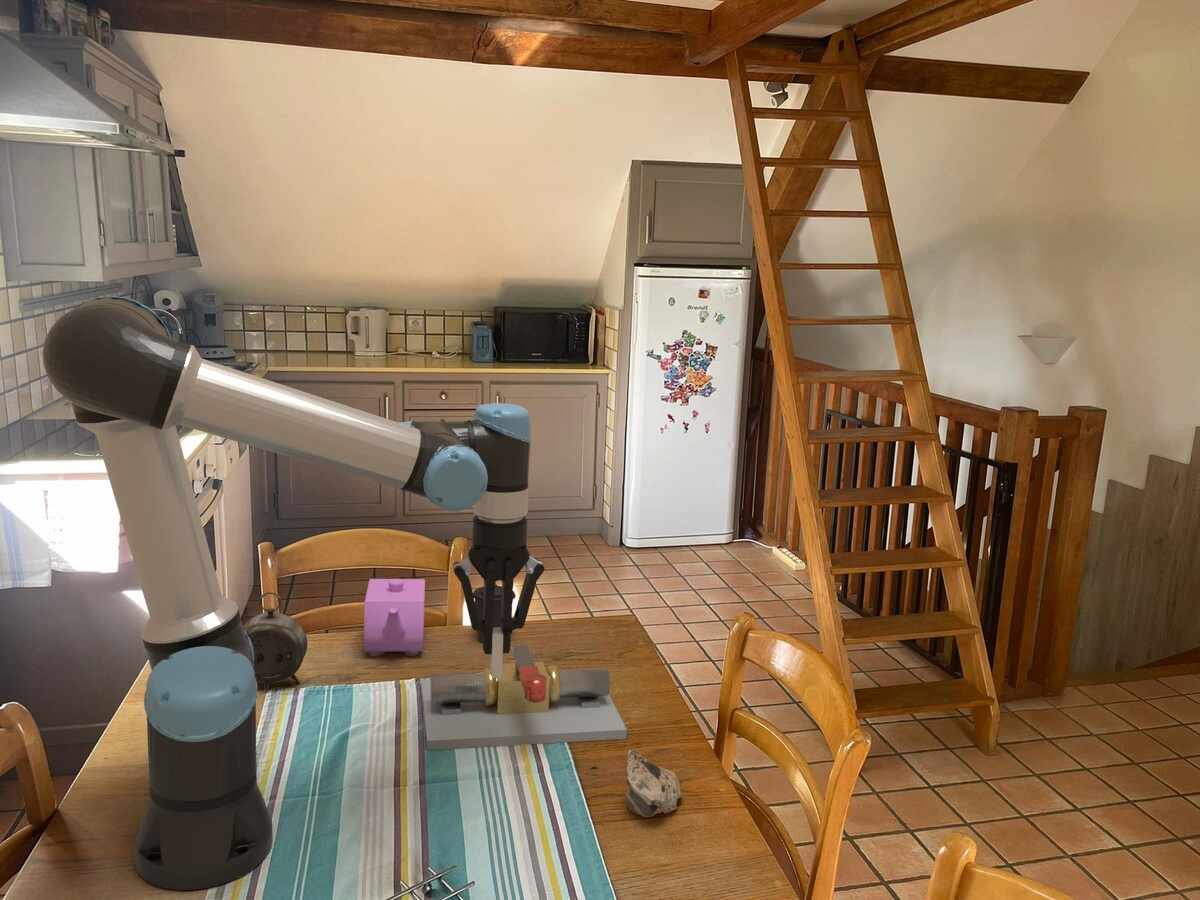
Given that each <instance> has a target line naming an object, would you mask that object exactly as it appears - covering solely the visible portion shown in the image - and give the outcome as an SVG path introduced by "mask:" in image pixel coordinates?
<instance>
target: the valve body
mask: <svg viewBox="0 0 1200 900" xmlns="http://www.w3.org/2000/svg"><path fill="white" fill-rule="evenodd" d="M534 664H535V666H537V667H538V670H539V673H540V675H543V676H545V677H546V678H547V683H546V699H545V701H543V702H539V703H532V702H529V701H528V702H527V700H526V699H525V693H524V690H523V687H522V683H521V680H520V677H519V675H520V673H518V672H516V671H515V665H516V662H511V663H509V662H508V663H505V662H504V663H502V678H491V674H490V670H489V667H485V668H483V670H482V672H476V673H475V672H473V673H472V672H471V673H450V674H449V673H448V674H446V673H445V674H444V673H443V674H431V675H430V679H431V680H430V699H431V704H440V709H441V715H456V714H461V704H460V703H469V702H483V704H484V706H495V708H496V712H497V715H500V714H520V713H540V712H548V707H549V703H558V702H559V699H560V698H575V697H577V699H578V701H579V703H580V706H581V708H597V707H600V700H599V698H598V696H608V695H610V691H611V690H610V689H611V679H610V677H611V676H610V672H609V669H608V668H607V667H602V668H601V667H600V668H597V667H596V668H576V669H559V666H558V665H546V666H545V662H544V661H539V662H537V661H536V662H534Z"/></svg>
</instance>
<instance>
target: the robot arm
mask: <svg viewBox="0 0 1200 900" xmlns="http://www.w3.org/2000/svg"><path fill="white" fill-rule="evenodd" d="M42 347H43V348H42V361H43V362H42V363H43V367H44V371H45V373H46V377H48V379H49V381H50V383H51V385H52V386H53V387H54V389H56V392H58V393H59V394H60V395H61V396H62V397H64V398H65V399H66V400H68V401H69V402H70V403H71V406H72V409H73V413H74V416H75V419H76V422H77V425H78V426H80V427H82V428H84V429H85V430H88V431H90V432H91V433H92V434H94V435H95V437H96V440H97V443H98V445H99V449H100V452H101V456H102V459H103V463H104V467H105V469H106V473H107V477H108V479H109V482H110V487H111V490H112V494H113V497H114V500H115V504H116V507H117V510H118V513H119V516H120V521H121V524H122V528H123V530H124V533H125V534H124V535H125V537H126V540H127V541H126V542H127V543H128V548H129V551H130V554H131V558H132V561H133V563H134V564H133V565H134V567H135V571H136V575H137V578H138V581H139V584H140V588H141V591H142V595H143V598H144V601H145V605H146V608H147V612H148V615H149V617H148V620H147V621H146V622H145V624H144V625H143V627H142V628H141V630H140V636H141V639H142V642H143V643H142V644H143V645H144V649H145V652H146V656H147V659H148V662H149V666H150V670H151V671H150V673H149V675H148V677H147V680H146V683H145V684H146V685H145V686H146V687H145V691H144V698H143V706H144V712H145V714H146V715H145V716H146V728H147V729H146V730H147V731H146V732H147V755H148V757H147V758H148V760H147V761H148V784H149V785H148V786H149V791H148V792H149V798H148V803H147V805H146V808H145V811H144V814H143V817H142V820H141V823H140V826H139V830H138V831H137V834H136V839H135V844H134V860H135V861H134V862H135V863H134V864H135V868H136V869H135V870H136V871H137V873H138V874H139V876H140V877H142V879H144V880H145V881H146V882H148V883H150V884H151V885H153V886H156V887H160V888H163V889H167V890H169V889H170V890H177V891H192V890H193V891H194V890H201V889H207V888H213V887H216V886H219V885H223V884H226V883H229V882H232V881H233V880H236V879H238V878H240V877H242V876H244V875H246V874H247V873H249V872H251V871H252V870H254V869H255V868H256V867H258V866H259V865H260V864H261V863H262V862H263V861H264V860H265V859H266V857H267V856H268V854H269V853H270V852H271V850H272V846H273V841H274V839H273V836H274V833H273V829H274V828H273V821H272V816H271V814H270V812H269V808H268V806H267V804H266V801H265V799H264V796H263V795H262V791H261V790H260V787H259V784H258V781H257V778H258V777H257V775H258V773H257V767H258V766H257V708H256V707H257V703H256V700H257V698H258V697H257V696H258V682H257V681H256V678H255V673H254V669H253V667H254V663H253V661H254V651H253V646H252V643H251V640H250V638H249V637H248V635H247V632H246V631H245V630H244V628H243V626H244V625H243V622H242V621H243V620H242V616H241V614H240V610H239V606H238V604H237V602H236V601H234V600H232V599H230V598H228V597H225V596H224V595H222V592H221V588H220V586H219V581H218V578H217V574H216V570H215V566H214V562H213V559H212V556H211V552H210V547H209V544H208V540H207V536H206V534H205V530H204V526H203V522H202V518H201V515H200V510H199V508H198V507H199V506H198V504H197V499H196V496H195V491H194V489H193V485H192V482H191V478H190V475H189V470H188V466H187V462H186V459H185V456H184V452H183V448H182V445H181V442H180V438H179V433H178V430H177V426H183V427H186V428H190V429H193V430H196V431H200V432H202V433H206V434H210V435H213V436H217V437H220V438H223V439H227V440H230V441H234V442H237V443H241V444H244V445H247V446H251V447H254V448H257V449H261V450H265V451H267V452H272V453H275V454H278V455H281V456H285V457H288V458H292V459H295V460H299V461H302V462H306V463H308V464H313V465H315V466H316V465H317V466H319V467H323V468H326V469H330V470H332V471H337V472H340V473H344V474H347V475H350V476H354V477H356V478H360V479H364V480H367V481H370V482H374V483H377V484H381V485H385V486H387V487H391V488H395V489H398V490H401V491H404V492H407V493H409V494H412V495H417V496H420V497H424V498H427V499H428V500H429V502H431V503H432V504H433V505H435V506H437V507H439V508H441V509H442V510H444V511H448V512H461V511H465V510H467V509H471V508H472V507H473V509H472V510H473V511H472V512H473V514H474V515H475V516H474V517H473V518H472V539H471V541H472V543H471V547H470V550H469V551H468V555H467V557H466V558H464V559H463V560H461V561H454V563H453V564H452V569H453V573H454V574H455V577H456V578H457V579H458V580H459V582H460V584H461V587H462V591H463V597H464V600H465V604H466V609H467V612H468V617H469V621H470V626H471V629H472V630H473V631H476V632H477V630H479V631H481V632H483V644H482V650H483V653H484V655H489V667H488V668H489V670H490V674H491V678H502V664H503V661H504V660H503V656H504V654H509V653H510V651H511V637H512V636H511V635H512V634H513V631H515V630H517V629H518V630H520V629H521V630H522V629H523V628H524V626H525V624H526V620H527V617H528V612H529V610H530V606H531V603H532V601H533V600H532V599H533V596H534V592H535V589H536V586H537V582H538V580H539V579H540V577H541V576H542V575H543V573H544V572H545V566H544V564H543V562H542V560H541V559H535V558H533V557H532V556H531V553H530V551H529V549H528V547H527V541H528V540H527V538H528V518H527V517H526V515H527V514H528V512H529V472H530V459H531V458H530V454H531V443H532V438H531V416H530V412H529V411H528V409H526V407H523V406H521V405H518V404H514V403H513V404H512V403H503V402H502V403H501V402H493V403H484V404H480V405H479V406H477V407H476V409H475V414H474V416H473V419H468V420H458V421H457V420H454V421H453V420H446V421H445V420H444V421H443V420H442V421H441V420H437V421H431V420H429V421H419V420H418V421H415V420H409V421H403V422H401V421H400V422H398V421H394V420H391V419H388V418H385V417H382V416H380V415H379V416H378V415H376V414H374V413H371V412H366V411H364V410H361V409H357V408H354V407H351V406H349V405H345V404H342V403H339V402H336V401H333V400H330V399H327V398H324V397H322V396H317V395H314V394H312V393H308V392H305V391H303V390H299V389H296V388H295V387H294V388H293V387H291V386H287V385H284V384H281V383H278V382H276V381H272V380H269V379H266V378H262V377H259V376H257V375H253V374H250V373H247V372H244V371H241V370H238V369H235V368H233V367H229V366H226V365H224V364H223V365H222V364H220V363H217V362H214V361H212V360H211V361H210V360H207V359H204V358H202V357H201V355H200V353H199V352H198V350H197V348H196V347H195V345H192V344H190V343H188V342H187V343H186V342H183V341H181V340H177V339H175V338H172V337H171V334H170V331H169V330H168V328H167V326H166V325H165V324H164V322H163V320H162V319H161V318H160V317H159V315H157V313H156V312H155V311H154V310H152V309H151V308H150V307H148V306H146V305H144V304H143V303H142V302H139V301H138V300H134V299H131V298H127V297H123V296H117V295H113V296H99V297H96V298H92V299H87V300H84V301H83V302H82V303H80V304H78V305H77V306H75V307H74V308H73V309H70V310H69V311H67V312H65V313H64V314H62V315H61V316H60V317H59V318H58V319H57V320H56V321H55V322H54V324H53V325H52V326H51V327H50V328H49V331H48V333H47V334H46V336H45V339H44V341H43V346H42ZM472 566H473V567H474V569H475V570H476V571H477V573H478V574H479V575H480V577H481V578H482V579H483V586H484V599H483V620H482V619H479V618H478V613H477V609H476V605H475V598H474V596H473V592H474V591H473V588H472V584H471V580H470V577H469V576H470V575H471V574H472V570H471V568H472ZM525 566H526V567H525ZM524 567H525V570H526V574H525V575H524V576H525V577H524V580H523V583H522V587H521V591H520V592H519V597H518V600H517V604H516V609H515V612H514V615H513V603H512V595H513V591H514V579H515V578H516V577H517V576H518V575H519V573H520V572H521V571H522V569H524ZM497 581H501V586H502V601H501V627H497V628H493V618H494V589H495V585H496V582H497Z"/></svg>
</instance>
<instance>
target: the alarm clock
mask: <svg viewBox="0 0 1200 900" xmlns="http://www.w3.org/2000/svg"><path fill="white" fill-rule="evenodd" d="M267 595H273V596H276V597H277V599H278V600H279V601H278V602H279V603H278V605H277V607H275V608H273V607H269V608H267V609H266V608H265V607H264V606H263V604H262V599H263V598H264V597H265V596H267ZM258 603H259V607H260V608H261V610H263V611H266V612H262V613H259V614H256V615H254V616H253V617H251V618H250V619H249V620H248V621H246V622H245V623H244V625H243V628H244V630H245V631H246V632H247V635H248V637H249V638H250V640H251V643H252V646H253V651H254V661H253V663H254V667H253V669H254V673H255V678H256V681H257V683H260V684H264V688H263V689H264V690H263V691H264V692H266V693H267V692H269V690H270V689H269V688H270V684H277V683H281V682H284V681H286V680H288V679H290V678H291V679H292V680H293V681H294V683H295V684H296V685H299V684H300V679H298V677H297V675H296V673H297V672H298V671H299V669H300V668H301V665H302V663H303V661H304V658H305V656H306V654H307V651H308V638H307V635H306V632H305V630H304V629H303V627H302V626H301V624H300V623H299V622H298V621H296V620H295V619H294V618H293V617H291V616H289V615H287V614H284V613H281V612H280V613H279V612H276V611H277V610H278V609H279V608H281V605H282V599H281V597H280V595H279V594H278V593H276V592H274V591H268V592H265V593H263V594H261V596H260V597H259V601H258Z"/></svg>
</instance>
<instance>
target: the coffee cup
mask: <svg viewBox="0 0 1200 900" xmlns="http://www.w3.org/2000/svg"><path fill="white" fill-rule="evenodd" d="M472 592H473V596H474V601H475V605H476V609H477V613H478V618H479V619H482V620H483V599H484V585H483V586H480V587H477V588H475V590H473V591H472ZM516 596H517V595H516V593H515V591H514V590H513V595H512V604H513V603H514V602H513V601H514V599H516ZM501 601H502V585H498V584H495V589H494V618H493V628H497V627H501ZM476 632H477V640H478V642H479V643H481V644H482V645H483V632H481V631H479V630H477V631H476Z"/></svg>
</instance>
